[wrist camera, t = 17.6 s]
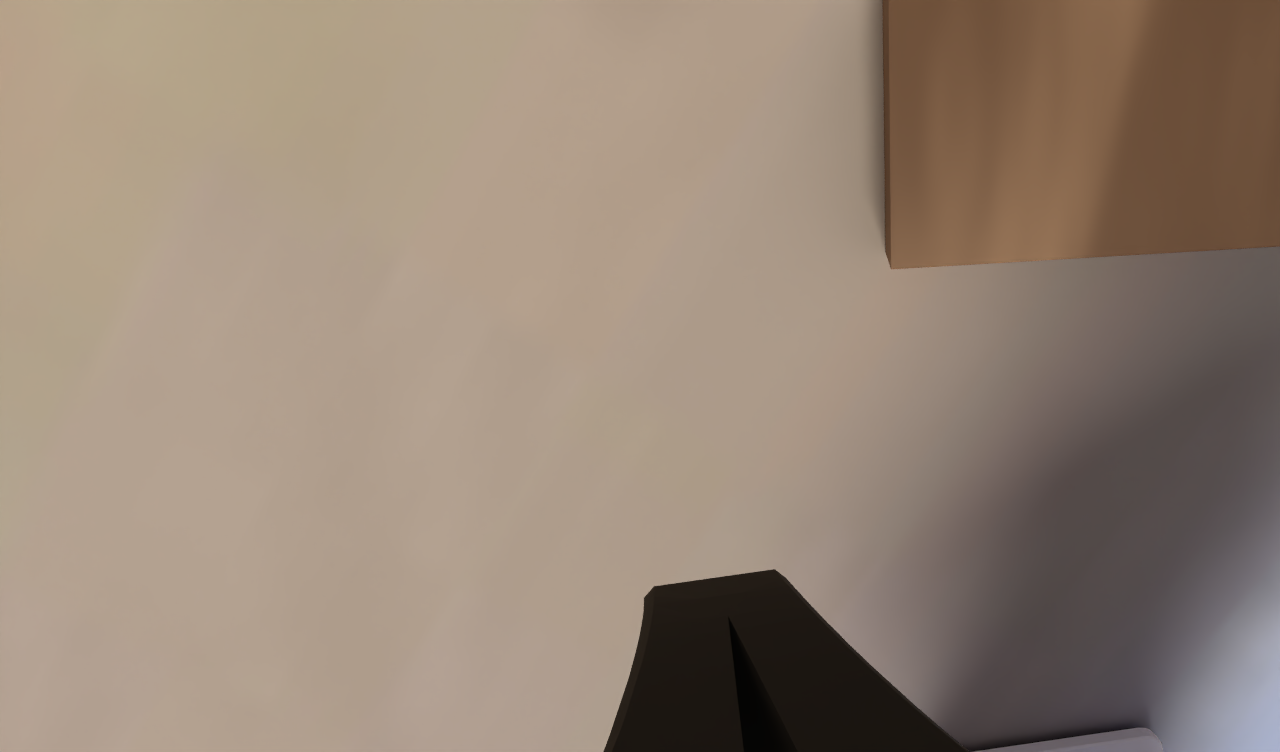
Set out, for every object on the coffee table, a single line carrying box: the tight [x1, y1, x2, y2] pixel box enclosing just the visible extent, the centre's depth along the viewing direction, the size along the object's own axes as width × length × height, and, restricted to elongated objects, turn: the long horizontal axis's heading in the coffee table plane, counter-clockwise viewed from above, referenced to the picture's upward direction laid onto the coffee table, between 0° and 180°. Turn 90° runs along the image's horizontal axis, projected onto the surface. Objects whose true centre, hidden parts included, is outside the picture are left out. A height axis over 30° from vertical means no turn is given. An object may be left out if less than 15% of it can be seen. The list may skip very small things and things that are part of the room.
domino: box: [883, 0, 1280, 269], centre depth 16 cm, size 2×5×8 cm
